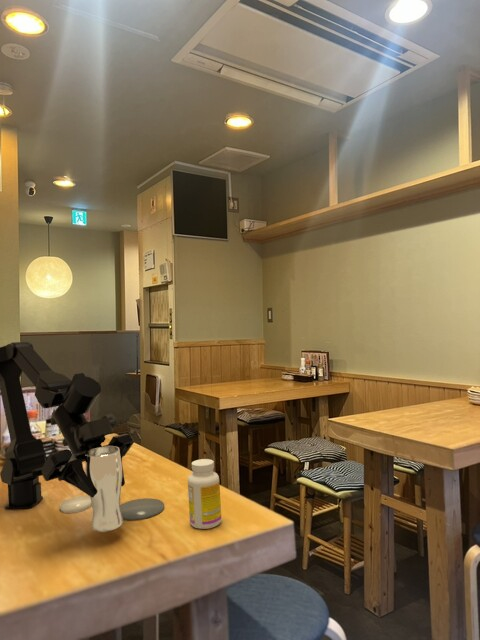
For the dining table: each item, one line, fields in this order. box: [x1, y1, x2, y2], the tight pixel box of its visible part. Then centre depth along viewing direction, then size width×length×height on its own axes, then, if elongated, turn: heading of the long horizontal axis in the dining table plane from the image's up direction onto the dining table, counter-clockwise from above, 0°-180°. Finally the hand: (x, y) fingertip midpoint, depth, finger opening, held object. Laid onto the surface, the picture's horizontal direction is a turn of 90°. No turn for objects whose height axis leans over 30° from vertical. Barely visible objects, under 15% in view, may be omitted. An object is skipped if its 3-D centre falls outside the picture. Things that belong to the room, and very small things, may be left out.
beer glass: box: [84, 445, 124, 533], centre depth 94 cm, size 7×7×15 cm
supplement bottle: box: [187, 458, 222, 530], centre depth 99 cm, size 7×7×13 cm
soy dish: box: [59, 495, 92, 514], centre depth 112 cm, size 7×7×1 cm
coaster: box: [120, 497, 165, 521], centre depth 108 cm, size 11×11×1 cm
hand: (109, 490), depth 93 cm, fingers closed on beer glass, 6 cm apart
